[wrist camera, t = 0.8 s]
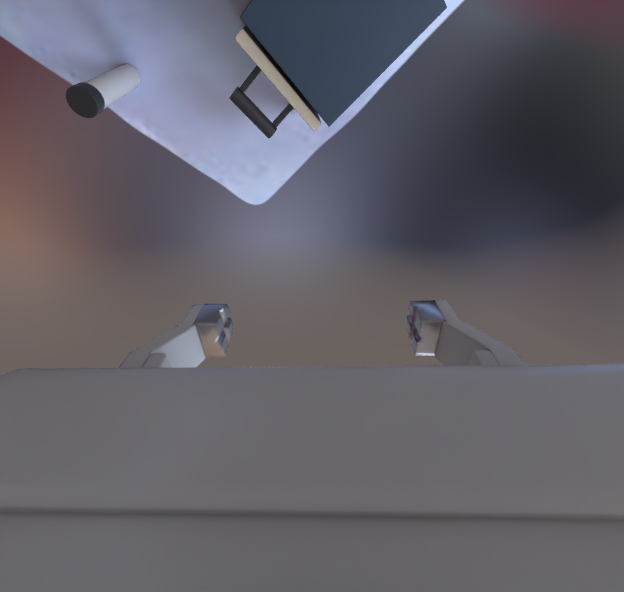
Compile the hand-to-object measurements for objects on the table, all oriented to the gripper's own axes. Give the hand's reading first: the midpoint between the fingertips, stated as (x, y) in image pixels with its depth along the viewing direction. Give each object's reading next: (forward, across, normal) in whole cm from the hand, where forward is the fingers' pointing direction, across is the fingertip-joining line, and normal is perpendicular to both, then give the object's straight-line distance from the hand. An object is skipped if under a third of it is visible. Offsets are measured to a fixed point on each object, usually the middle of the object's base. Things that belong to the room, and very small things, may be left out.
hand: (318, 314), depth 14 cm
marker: (+35, +24, -11) cm, 44 cm away
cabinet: (+37, -2, -17) cm, 40 cm away
